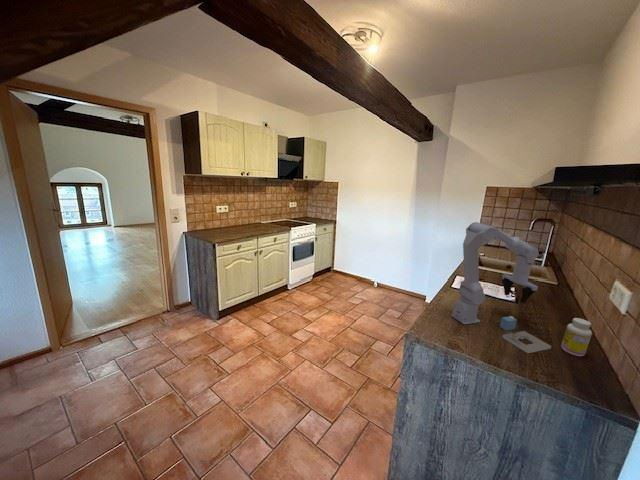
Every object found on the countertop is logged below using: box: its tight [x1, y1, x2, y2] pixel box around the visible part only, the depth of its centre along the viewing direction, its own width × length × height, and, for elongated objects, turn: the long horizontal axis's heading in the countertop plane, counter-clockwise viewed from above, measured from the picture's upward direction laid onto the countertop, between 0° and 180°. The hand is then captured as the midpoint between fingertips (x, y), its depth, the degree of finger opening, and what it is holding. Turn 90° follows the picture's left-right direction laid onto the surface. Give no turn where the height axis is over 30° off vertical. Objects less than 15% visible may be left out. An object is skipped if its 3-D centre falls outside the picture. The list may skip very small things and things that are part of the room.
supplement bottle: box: [560, 317, 593, 357], centre depth 95 cm, size 7×7×13 cm
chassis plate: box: [501, 330, 552, 354], centre depth 101 cm, size 12×10×1 cm
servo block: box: [499, 315, 518, 331], centre depth 110 cm, size 5×3×5 cm, turn 106°
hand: (514, 298), depth 117 cm, fingers open, 7 cm apart
